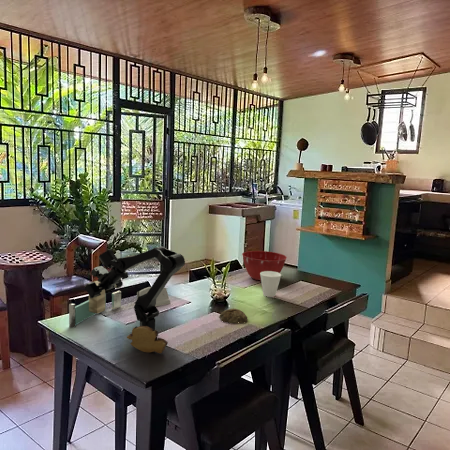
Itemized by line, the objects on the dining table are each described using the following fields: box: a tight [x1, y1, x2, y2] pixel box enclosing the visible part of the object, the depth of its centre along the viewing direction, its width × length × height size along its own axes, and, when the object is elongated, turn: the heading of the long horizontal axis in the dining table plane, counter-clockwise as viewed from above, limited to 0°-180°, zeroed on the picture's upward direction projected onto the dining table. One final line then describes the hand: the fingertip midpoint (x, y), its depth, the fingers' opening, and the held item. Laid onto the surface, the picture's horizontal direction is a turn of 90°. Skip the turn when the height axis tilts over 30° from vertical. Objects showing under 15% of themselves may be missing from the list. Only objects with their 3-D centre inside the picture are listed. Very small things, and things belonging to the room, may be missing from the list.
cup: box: [260, 271, 282, 298], centre depth 229 cm, size 12×12×12 cm
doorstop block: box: [88, 280, 106, 314], centre depth 184 cm, size 5×5×13 cm
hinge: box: [136, 286, 171, 307], centre depth 207 cm, size 17×5×10 cm, turn 126°
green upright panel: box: [75, 293, 107, 326], centre depth 186 cm, size 22×2×8 cm, turn 162°
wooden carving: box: [126, 325, 169, 354], centre depth 155 cm, size 16×5×10 cm, turn 75°
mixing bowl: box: [241, 250, 288, 282], centre depth 262 cm, size 28×28×16 cm
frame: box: [68, 290, 122, 329], centre depth 187 cm, size 31×2×10 cm, turn 153°
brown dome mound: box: [218, 307, 248, 324], centre depth 192 cm, size 13×12×5 cm
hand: (94, 296), depth 185 cm, fingers closed on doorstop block, 5 cm apart
